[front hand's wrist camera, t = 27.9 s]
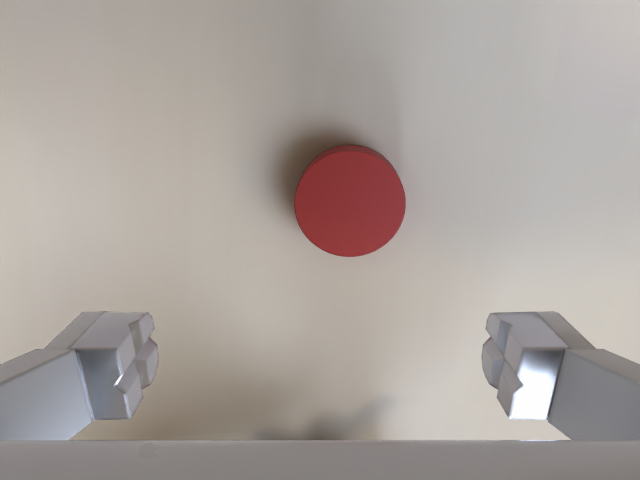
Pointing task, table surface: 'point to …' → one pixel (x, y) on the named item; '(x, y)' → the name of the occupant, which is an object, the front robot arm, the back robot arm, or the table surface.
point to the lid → (349, 201)
